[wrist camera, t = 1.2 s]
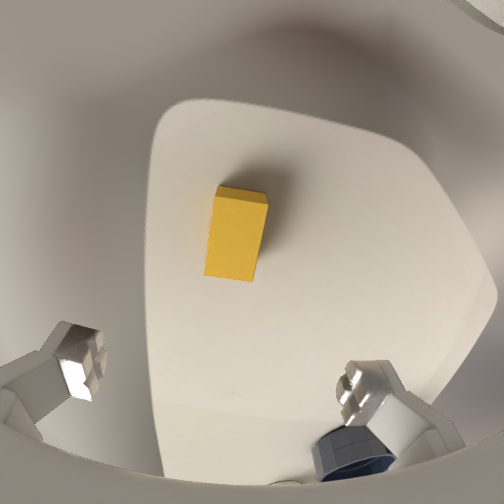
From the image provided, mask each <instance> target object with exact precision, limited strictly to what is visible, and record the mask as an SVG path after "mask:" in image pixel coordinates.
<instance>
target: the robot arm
mask: <svg viewBox="0 0 504 504" xmlns="http://www.w3.org/2000/svg"><path fill="white" fill-rule="evenodd" d="M103 342H104V336H103V333H102V332H101V331H98V330H95V329H91V328H87V327H83V326H80V325H76V324H72V323H68V322H65V321H61V322H59V323H58V324H57V326H56V327H55V328H54V330H53V331H52V333H51V334H50V336H49V337H48V339H47V340H46V342H45V343H44V345H43V346H42V348H41V349H40V351H36V350H35V351H33V352H31V353H29V354H27V355H25V356H23V357H20V358H18V359H16V360H14V361H12V362H10V363H8V364H6V365H4V366H2V367H0V504H504V430H503V431H501V432H499V433H497V434H495V435H493V436H491V437H489V438H486V439H484V440H482V441H480V442H477V443H475V444H473V445H470V446H468V447H466V445H465V443H464V441H463V439H462V437H461V435H460V433H459V432H458V430H457V428H456V426H455V424H454V422H452V421H451V420H449V419H448V418H446V417H445V416H444V415H442V414H441V413H439V412H438V411H437V410H435V409H434V408H432V407H431V406H430V405H428V404H427V403H425V402H424V401H423V400H421V399H420V398H418V397H417V396H415V395H414V394H413V393H411V392H410V391H406V390H405V388H404V386H403V384H402V382H401V381H400V379H399V377H398V375H397V373H396V371H395V369H394V368H393V366H392V364H391V362H390V361H388V360H375V361H374V360H371V361H350V362H349V363H348V364H347V366H346V368H345V370H346V374H344V375H343V376H341V377H340V379H339V381H338V383H337V388H336V397H337V400H338V403H340V404H341V405H342V406H343V409H342V411H341V413H342V416H343V419H344V422H345V425H346V427H347V426H362V425H367V427H368V428H369V429H370V430H371V431H372V432H373V433H374V434H375V435H376V437H377V438H378V439H379V440H380V441H381V442H382V443H383V444H384V445H385V446H386V447H387V448H388V449H389V450H390V451H391V452H392V453H393V454H394V455H395V456H396V457H397V459H396V460H395V461H394V462H393V463H392V464H391V465H390V466H389V468H388V470H389V471H387V472H383V473H378V474H373V475H368V476H363V477H357V478H351V479H344V480H337V481H329V482H320V483H309V484H295V485H264V486H258V485H227V484H213V483H202V482H193V481H185V480H178V479H171V478H165V477H159V476H153V475H149V474H143V473H139V472H134V471H130V470H126V469H122V468H118V467H113V466H110V465H106V464H103V463H99V462H96V461H93V460H90V459H87V458H83V457H81V456H77V455H75V454H72V453H69V452H66V451H64V450H61V449H58V448H56V447H53V446H51V445H48V444H46V443H43V442H42V440H43V438H42V435H41V434H40V432H39V431H38V429H37V428H36V426H35V425H34V424H35V423H36V422H38V421H39V420H41V419H42V418H43V417H44V416H46V415H47V414H48V413H50V412H51V411H52V410H54V409H55V408H56V407H57V406H59V405H60V404H61V403H63V402H64V401H65V400H66V399H68V398H69V397H70V396H74V397H77V398H81V399H84V400H88V401H92V402H93V400H94V398H95V395H96V393H97V390H98V388H99V386H98V382H97V380H99V379H100V378H102V377H103V375H104V373H105V370H106V364H107V354H106V350H105V349H104V348H103V346H102V344H103Z"/></svg>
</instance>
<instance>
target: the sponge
mask: <svg viewBox="0 0 504 504" xmlns="http://www.w3.org/2000/svg"><path fill="white" fill-rule="evenodd" d="M268 207H269V204H268V201H267V198H266V195H265V193H259V192H253V191H247V190H241V189H235V188H229V187H222V186H218V187H217V191H216V194H215V198H214V205H213V211H212V218H211V225H210V232H209V240H208V247H207V254H206V262H205V270H204V275H206V276H213V277H220V278H227V279H234V280H241V281H248V282H252V281H253V277H254V273H255V268H256V263H257V259H258V254H259V249H260V245H261V240H262V235H263V231H264V226H265V221H266V216H267V212H268Z"/></svg>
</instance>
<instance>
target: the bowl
mask: <svg viewBox="0 0 504 504" xmlns="http://www.w3.org/2000/svg"><path fill="white" fill-rule="evenodd" d="M312 459H313V465H314V470H315V475H316V481H317V483H320V482H329V481H337V480H344V479H351V478H357V477H363V476H368V475H373V474H378V473H383V472H386V471H387V470H388V468H389V466H390V465H391V464H392V463H393V462H394V461H395V460H396V459H397V457H396V456H395V455H394V454H393V453H392V452H391V451H390V450H389V449H388V448H387V447H386V446H385V445H384V444H383V443H382V442H381V441H380V440H379V439H378V438H377V437H376V435H375V434H374V433H373V432H372V431H371V430H370V429H369V428H368V427H367V425H362V426H347V427H346V426H345V427H343V428H340V429H337V430H335V431H333V432H331V433H329V434H328V435H326V436H324V437H323V438H322V439H320V440H319V441H318V442H317V444H316V445H315V447H314V448H313V449H312Z"/></svg>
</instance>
